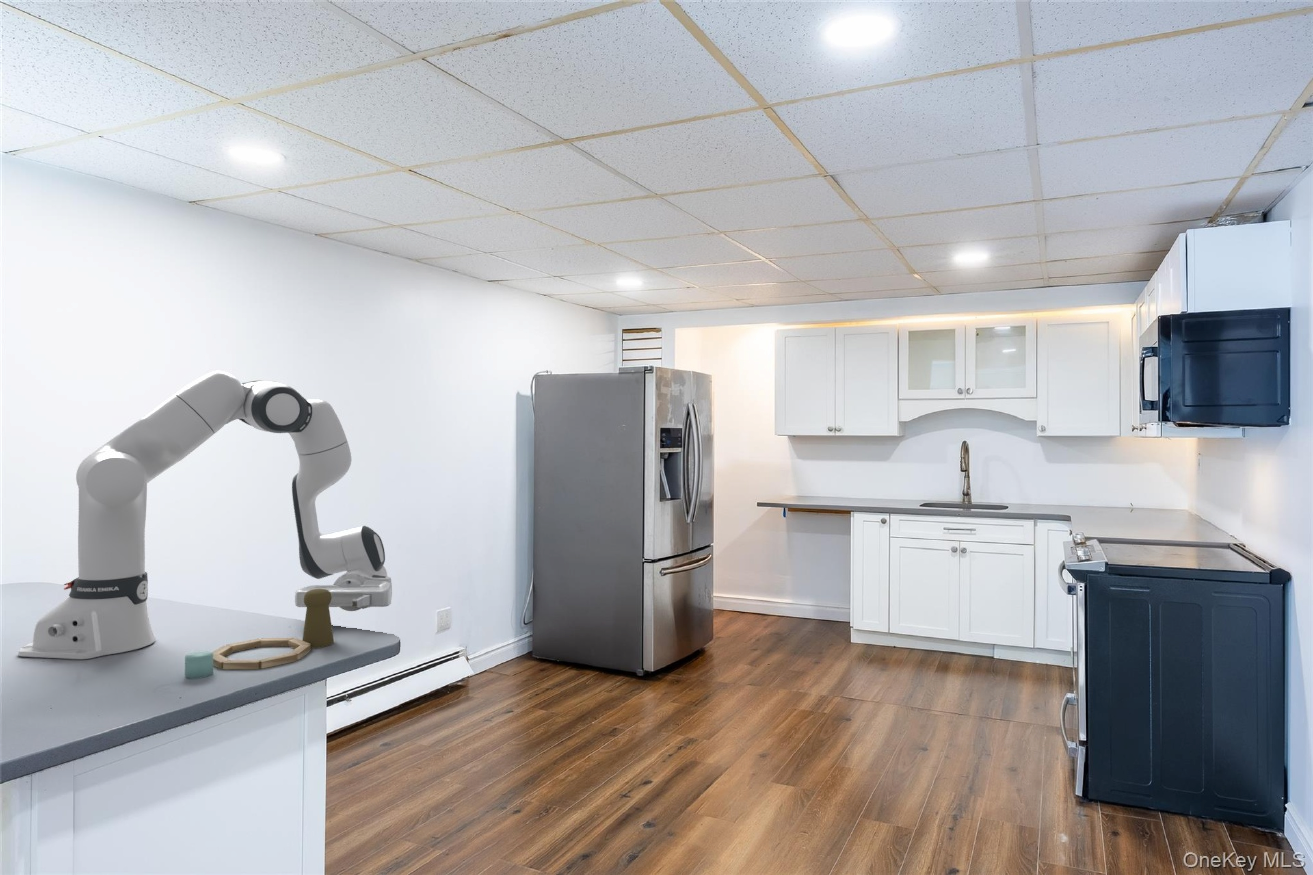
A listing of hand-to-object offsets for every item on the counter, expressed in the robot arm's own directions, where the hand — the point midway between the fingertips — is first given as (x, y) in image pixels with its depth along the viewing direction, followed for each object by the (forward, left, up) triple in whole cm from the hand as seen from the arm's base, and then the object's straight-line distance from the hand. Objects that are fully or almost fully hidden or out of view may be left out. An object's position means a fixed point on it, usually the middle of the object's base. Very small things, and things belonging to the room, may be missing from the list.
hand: (333, 604), depth 174 cm
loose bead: (-14, -28, -6) cm, 32 cm away
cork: (0, -10, -6) cm, 11 cm away
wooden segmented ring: (-8, -18, -6) cm, 20 cm away
